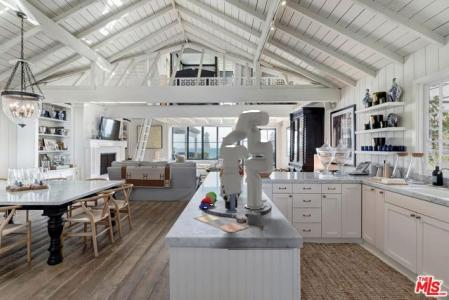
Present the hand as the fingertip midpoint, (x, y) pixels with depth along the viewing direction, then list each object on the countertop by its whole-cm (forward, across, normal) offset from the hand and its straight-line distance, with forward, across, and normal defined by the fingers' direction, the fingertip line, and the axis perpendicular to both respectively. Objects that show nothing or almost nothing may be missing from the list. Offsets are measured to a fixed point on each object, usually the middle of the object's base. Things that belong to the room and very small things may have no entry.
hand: (231, 207), depth 134 cm
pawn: (+2, 0, 0) cm, 2 cm away
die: (+10, -14, +2) cm, 17 cm away
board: (+10, 0, -10) cm, 14 cm away
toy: (+10, -16, -41) cm, 46 cm away
